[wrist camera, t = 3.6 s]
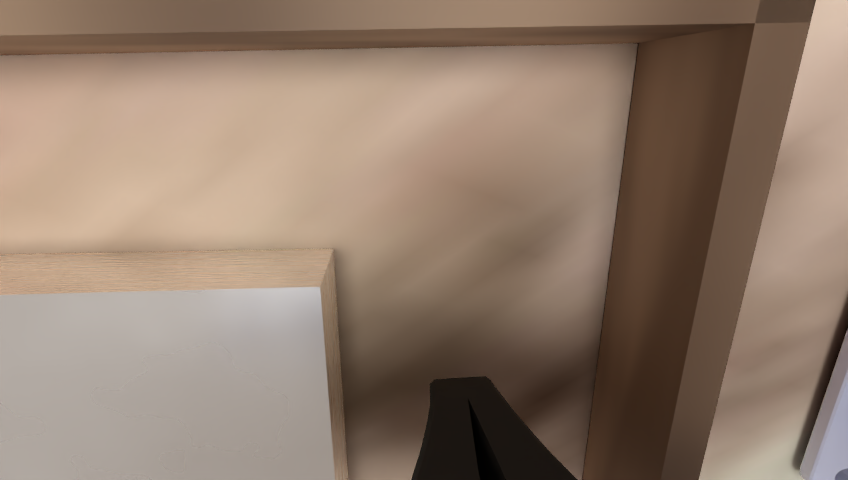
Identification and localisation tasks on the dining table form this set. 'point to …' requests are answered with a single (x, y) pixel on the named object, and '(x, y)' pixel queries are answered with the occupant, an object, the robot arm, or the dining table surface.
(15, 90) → the dining table surface
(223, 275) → the cover plate
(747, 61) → the brown u-shaped frame
